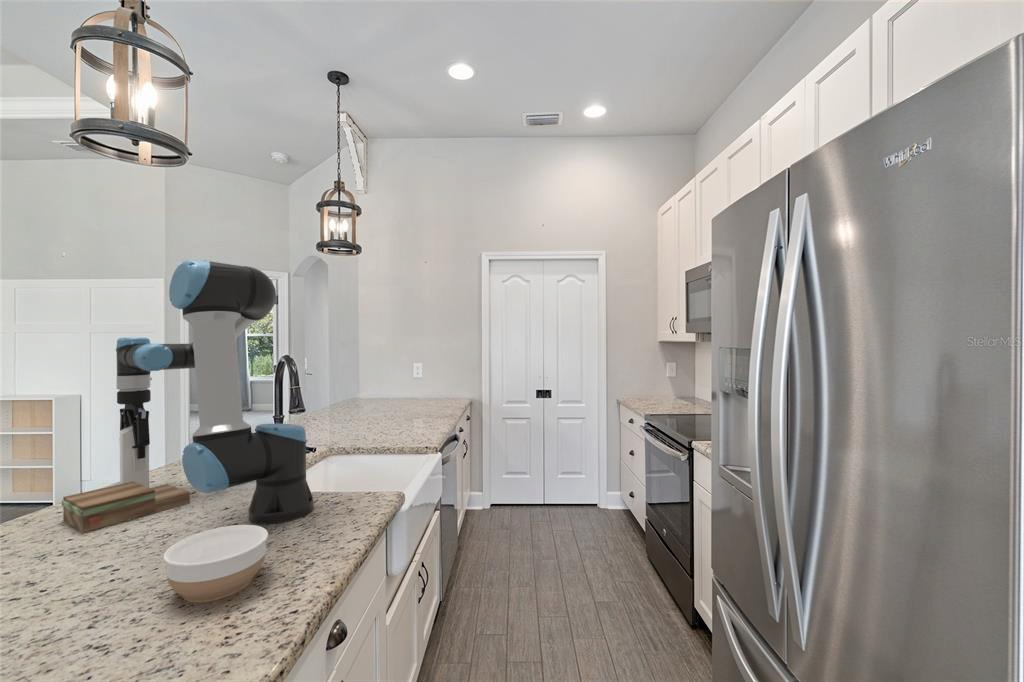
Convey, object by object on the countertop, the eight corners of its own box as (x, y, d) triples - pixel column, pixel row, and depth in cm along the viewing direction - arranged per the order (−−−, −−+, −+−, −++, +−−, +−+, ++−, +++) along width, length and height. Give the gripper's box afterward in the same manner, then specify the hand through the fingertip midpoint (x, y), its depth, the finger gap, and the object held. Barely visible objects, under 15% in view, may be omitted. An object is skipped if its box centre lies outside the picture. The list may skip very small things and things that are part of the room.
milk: (122, 500, 125) (121, 422, 125) (119, 495, 129) (118, 420, 129) (150, 494, 130) (148, 419, 129) (146, 489, 134) (145, 417, 134)
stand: (190, 503, 122) (190, 481, 122) (82, 533, 103) (81, 508, 103) (167, 494, 130) (167, 473, 130) (61, 521, 110) (61, 497, 110)
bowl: (265, 555, 92) (265, 518, 92) (271, 592, 78) (271, 548, 78) (169, 578, 83) (169, 536, 83) (157, 624, 70) (156, 574, 70)
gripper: (164, 390, 127) (164, 469, 127) (136, 386, 138) (136, 460, 138) (131, 392, 121) (132, 476, 121) (104, 389, 131) (105, 465, 131)
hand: (134, 467), depth 129 cm, fingers open, 7 cm apart
